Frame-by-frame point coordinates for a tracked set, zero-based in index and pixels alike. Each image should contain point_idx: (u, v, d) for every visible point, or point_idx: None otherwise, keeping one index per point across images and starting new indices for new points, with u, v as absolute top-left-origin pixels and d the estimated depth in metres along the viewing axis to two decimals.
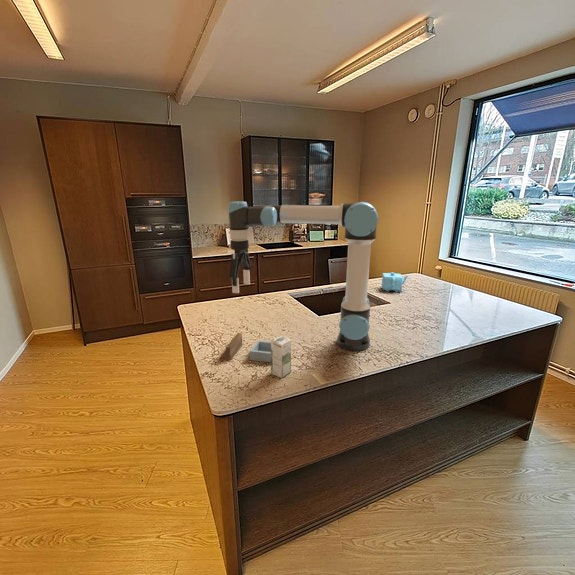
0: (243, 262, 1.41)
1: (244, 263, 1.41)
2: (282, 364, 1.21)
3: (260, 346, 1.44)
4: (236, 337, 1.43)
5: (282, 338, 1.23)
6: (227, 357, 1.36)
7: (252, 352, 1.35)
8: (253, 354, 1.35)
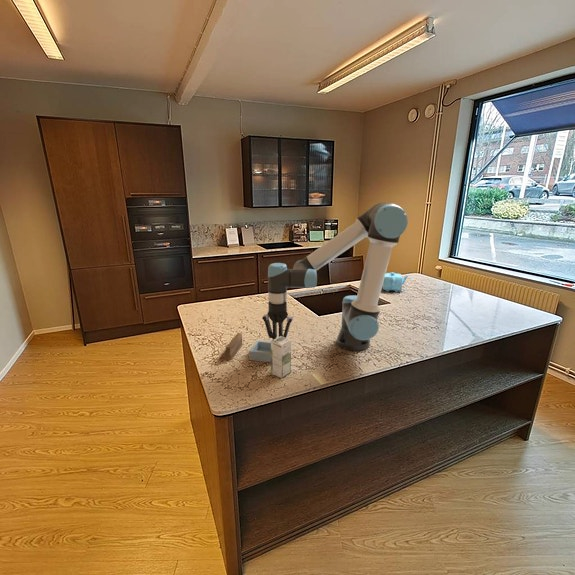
0: None
1: None
2: (282, 364, 1.21)
3: (259, 346, 1.44)
4: (236, 337, 1.43)
5: (282, 338, 1.23)
6: (227, 357, 1.36)
7: (251, 352, 1.35)
8: (252, 354, 1.35)
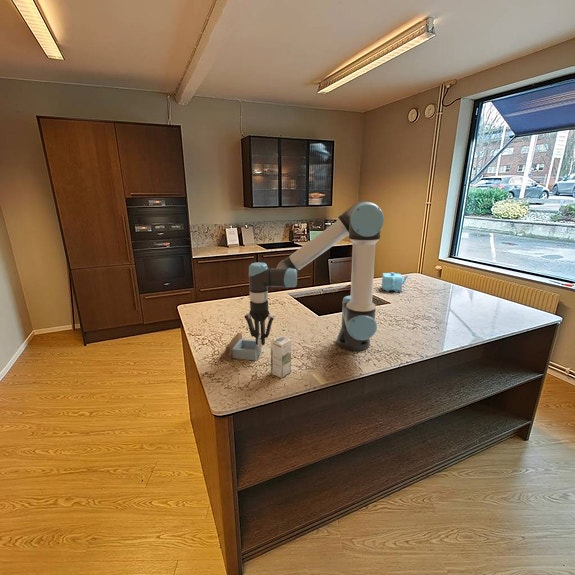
0: None
1: None
2: (282, 364, 1.21)
3: (243, 344, 1.45)
4: (236, 337, 1.43)
5: (282, 338, 1.23)
6: (227, 357, 1.36)
7: (234, 350, 1.36)
8: (235, 352, 1.37)
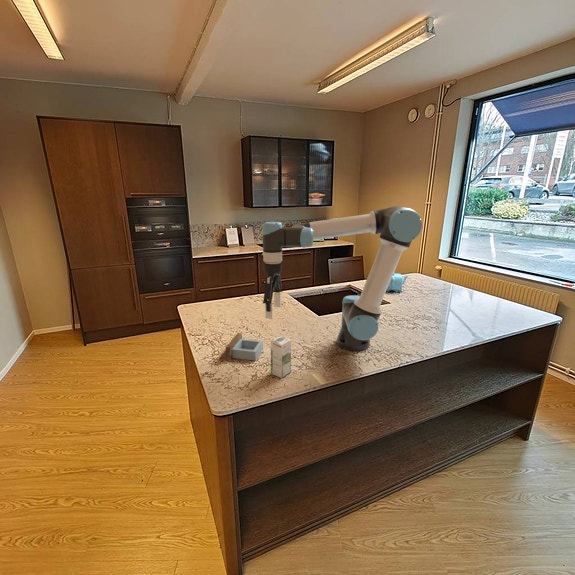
0: None
1: (276, 285, 1.34)
2: (282, 364, 1.21)
3: (243, 344, 1.45)
4: (236, 337, 1.43)
5: (282, 338, 1.23)
6: (227, 357, 1.36)
7: (234, 350, 1.36)
8: (235, 352, 1.37)
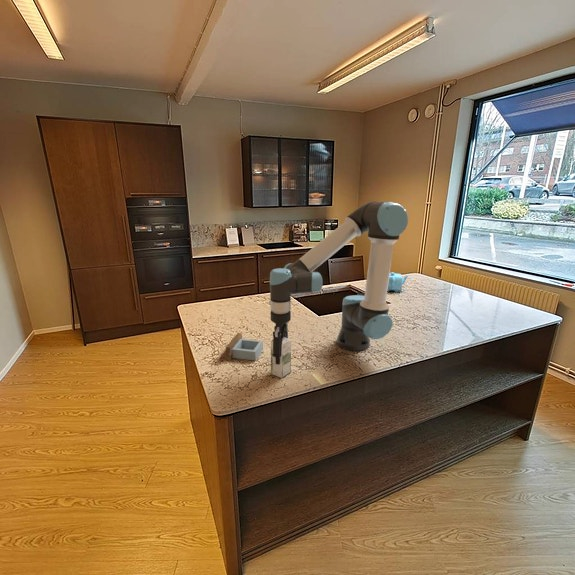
0: (281, 335, 1.25)
1: None
2: (282, 364, 1.21)
3: (243, 344, 1.45)
4: (236, 337, 1.43)
5: None
6: (227, 357, 1.36)
7: (234, 350, 1.36)
8: (235, 352, 1.37)
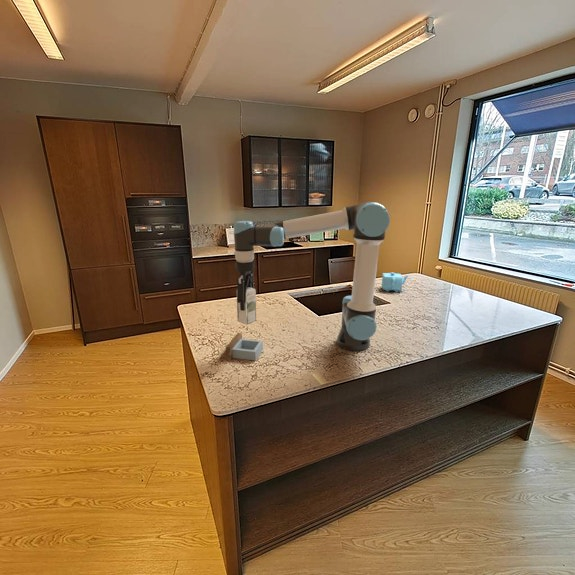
0: (247, 285, 1.34)
1: (248, 286, 1.35)
2: (247, 311, 1.31)
3: (243, 344, 1.45)
4: (236, 337, 1.43)
5: (247, 288, 1.33)
6: (227, 357, 1.36)
7: (234, 350, 1.36)
8: (235, 352, 1.37)
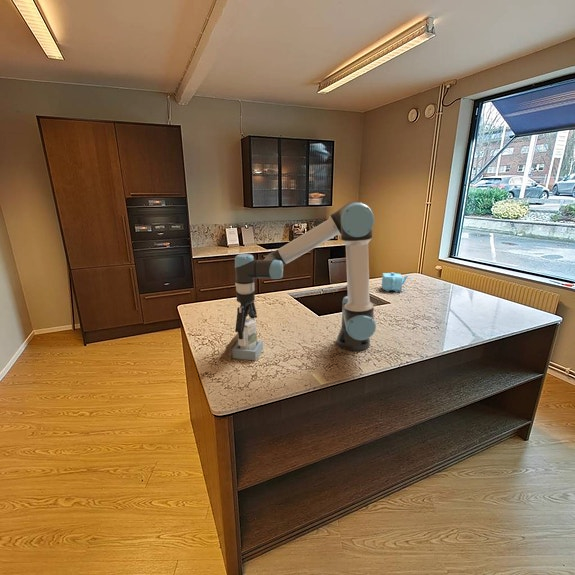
0: (249, 312, 1.40)
1: (250, 312, 1.40)
2: (248, 343, 1.37)
3: None
4: (236, 337, 1.43)
5: (248, 320, 1.39)
6: (227, 357, 1.36)
7: (234, 350, 1.36)
8: (235, 352, 1.37)
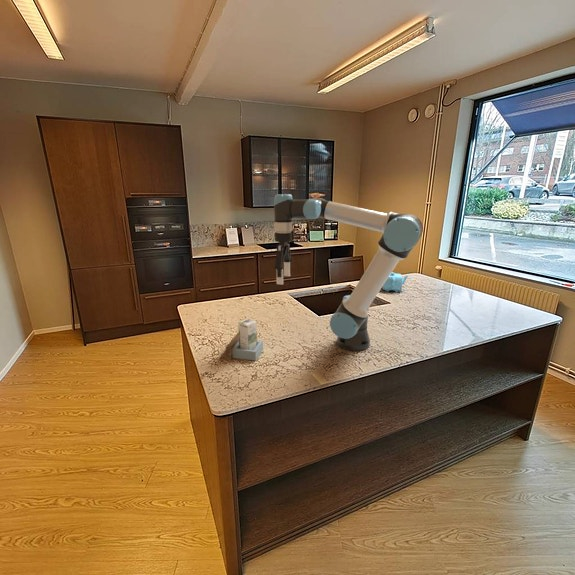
0: (285, 254, 1.44)
1: (286, 255, 1.44)
2: (248, 343, 1.37)
3: None
4: (236, 337, 1.43)
5: (248, 320, 1.38)
6: (227, 357, 1.36)
7: (234, 350, 1.36)
8: (235, 352, 1.37)
